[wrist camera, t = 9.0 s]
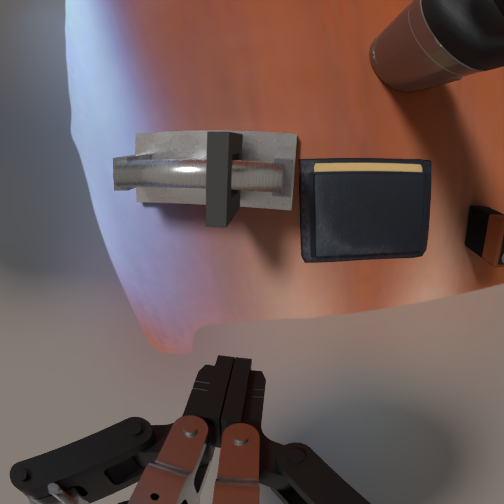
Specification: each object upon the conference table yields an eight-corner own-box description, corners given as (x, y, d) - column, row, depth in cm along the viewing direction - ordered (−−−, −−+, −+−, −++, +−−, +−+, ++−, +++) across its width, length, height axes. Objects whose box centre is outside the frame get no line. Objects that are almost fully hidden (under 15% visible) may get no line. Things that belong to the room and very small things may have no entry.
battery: (487, 206, 34) (524, 224, 25) (481, 245, 37) (514, 269, 28) (469, 204, 35) (506, 222, 26) (463, 245, 37) (496, 271, 28)
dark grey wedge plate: (242, 134, 32) (229, 131, 24) (239, 206, 36) (226, 227, 27) (226, 133, 33) (207, 131, 24) (224, 205, 36) (205, 226, 28)
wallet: (300, 266, 40) (298, 154, 35) (299, 260, 42) (297, 154, 36) (427, 262, 38) (437, 161, 32) (422, 258, 40) (431, 160, 34)
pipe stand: (296, 134, 35) (301, 131, 26) (291, 208, 39) (293, 229, 30) (139, 133, 37) (101, 134, 28) (140, 200, 40) (104, 217, 31)
